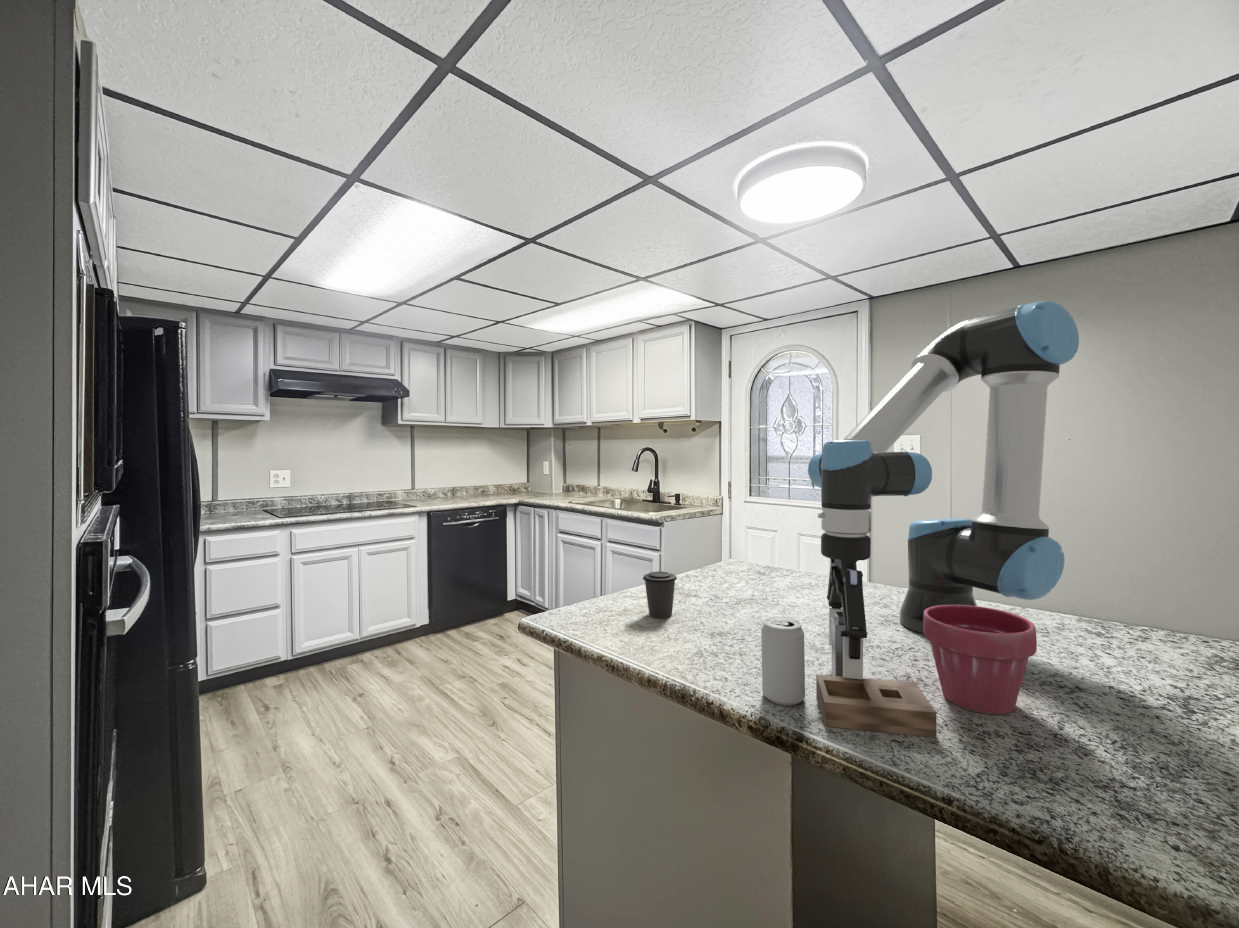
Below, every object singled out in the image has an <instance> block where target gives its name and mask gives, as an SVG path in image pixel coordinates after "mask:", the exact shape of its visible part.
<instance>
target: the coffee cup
mask: <svg viewBox="0 0 1239 928" xmlns="http://www.w3.org/2000/svg"><path fill="white" fill-rule="evenodd" d="M642 579H643V581H644V582H645V583H644V585H645V593H646V599H647V608H648V615H649V617H650V618H652V619H656V620H657V619H658V620H659V619H660V620H661V619H662V620H665V619H668V618H671V617H672V616H673V610H674V609H673V605H674V597H675V588H676V587H675V586H676V580H677V579H678V578H677V575H676V574H674V573H670V572H668V571H650V572H649V573H646V574H644V575H643V577H642Z"/></svg>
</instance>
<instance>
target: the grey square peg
mask: <svg viewBox="0 0 1239 928" xmlns="http://www.w3.org/2000/svg"><path fill="white" fill-rule="evenodd" d="M852 629H858V628H855V627H854V628H852ZM841 631H845V627H844V619H843V612H839V611H836V617H831V645H830V646H831V676H840V677H843V637H841V636H840V633H841Z"/></svg>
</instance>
